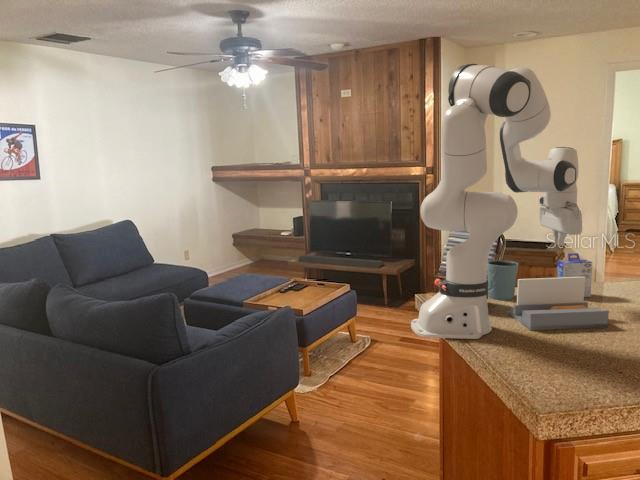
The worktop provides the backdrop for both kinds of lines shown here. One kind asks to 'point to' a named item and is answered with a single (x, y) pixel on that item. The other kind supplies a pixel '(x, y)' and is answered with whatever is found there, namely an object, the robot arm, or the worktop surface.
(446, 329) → the robot arm
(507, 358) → the worktop surface
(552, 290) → the cover
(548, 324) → the grooved grey base
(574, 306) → the orange capsule pill
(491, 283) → the teal cup
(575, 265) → the ink cartridge box
